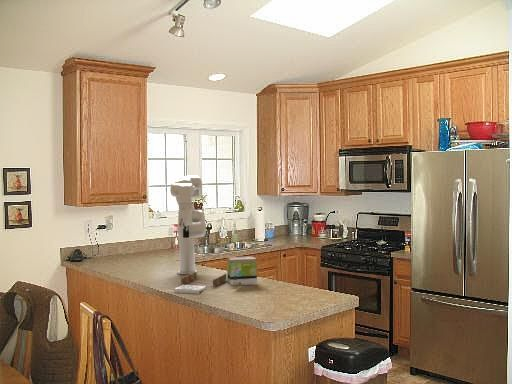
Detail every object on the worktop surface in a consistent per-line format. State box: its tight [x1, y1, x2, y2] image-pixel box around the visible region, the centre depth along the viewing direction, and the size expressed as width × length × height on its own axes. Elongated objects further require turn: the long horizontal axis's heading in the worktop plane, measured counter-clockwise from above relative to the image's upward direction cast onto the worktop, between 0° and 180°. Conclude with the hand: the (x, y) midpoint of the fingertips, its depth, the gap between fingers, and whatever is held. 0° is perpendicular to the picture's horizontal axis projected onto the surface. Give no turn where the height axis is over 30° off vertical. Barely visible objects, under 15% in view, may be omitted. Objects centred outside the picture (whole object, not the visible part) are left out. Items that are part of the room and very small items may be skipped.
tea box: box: [226, 256, 258, 286], centre depth 305 cm, size 15×10×15 cm, turn 105°
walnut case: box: [180, 272, 227, 288], centre depth 305 cm, size 17×20×5 cm
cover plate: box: [174, 285, 208, 295], centre depth 289 cm, size 10×14×2 cm
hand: (186, 237), depth 317 cm, fingers closed
